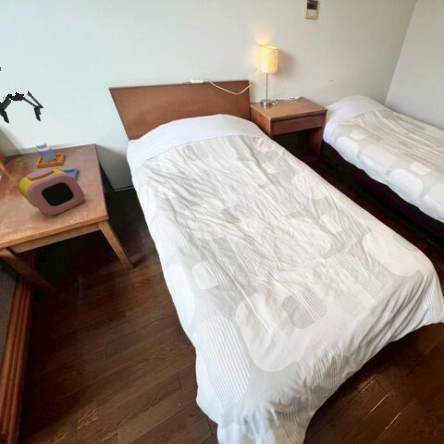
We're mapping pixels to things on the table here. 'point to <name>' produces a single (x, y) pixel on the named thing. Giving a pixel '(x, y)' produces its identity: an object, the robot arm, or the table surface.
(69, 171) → the blue tray
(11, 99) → the robot arm
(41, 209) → the alarm clock
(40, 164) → the amber tray
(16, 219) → the table surface
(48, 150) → the pill bottle
